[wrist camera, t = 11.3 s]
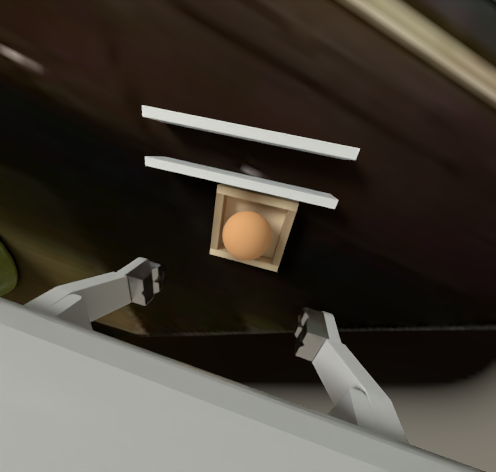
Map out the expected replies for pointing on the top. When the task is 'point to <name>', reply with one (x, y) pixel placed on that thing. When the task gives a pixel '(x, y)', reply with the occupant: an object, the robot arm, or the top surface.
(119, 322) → the top surface
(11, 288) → the plant pot
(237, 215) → the ball
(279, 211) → the coaster tray
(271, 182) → the lane walls
